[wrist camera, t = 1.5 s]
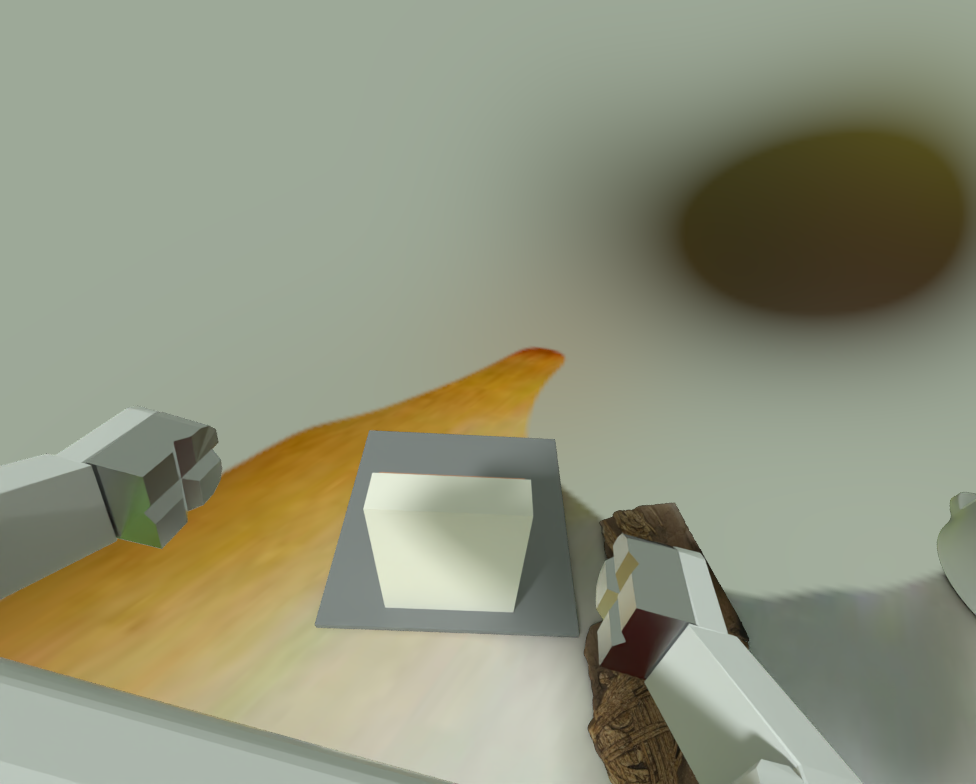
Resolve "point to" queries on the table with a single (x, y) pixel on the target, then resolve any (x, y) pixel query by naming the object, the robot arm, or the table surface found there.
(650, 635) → the robot arm
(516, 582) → the tile
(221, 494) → the table surface
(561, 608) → the mat
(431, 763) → the table surface
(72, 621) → the table surface
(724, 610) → the wooden fragment
